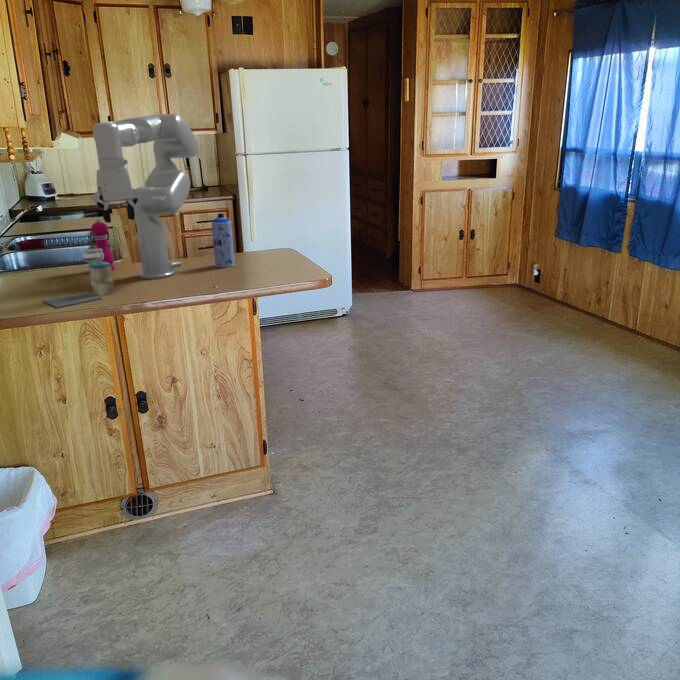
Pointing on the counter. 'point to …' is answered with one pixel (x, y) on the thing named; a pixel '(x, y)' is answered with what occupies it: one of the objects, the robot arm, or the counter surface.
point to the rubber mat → (71, 299)
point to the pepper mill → (102, 241)
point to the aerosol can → (223, 241)
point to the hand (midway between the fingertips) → (119, 220)
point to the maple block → (101, 279)
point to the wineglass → (93, 255)
